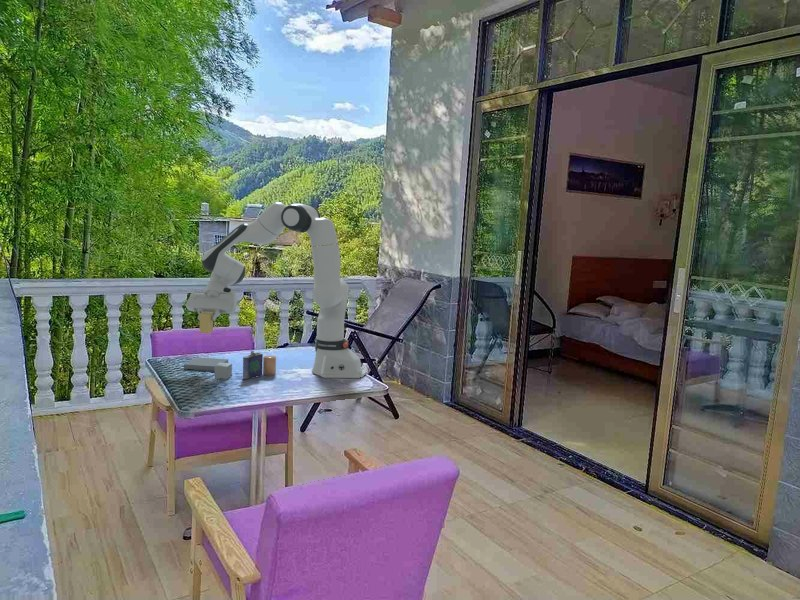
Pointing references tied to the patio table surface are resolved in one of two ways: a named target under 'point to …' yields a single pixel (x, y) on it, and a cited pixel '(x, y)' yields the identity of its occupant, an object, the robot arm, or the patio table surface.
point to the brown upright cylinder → (269, 365)
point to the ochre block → (206, 322)
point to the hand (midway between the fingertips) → (206, 319)
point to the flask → (252, 365)
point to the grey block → (223, 370)
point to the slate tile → (204, 363)
